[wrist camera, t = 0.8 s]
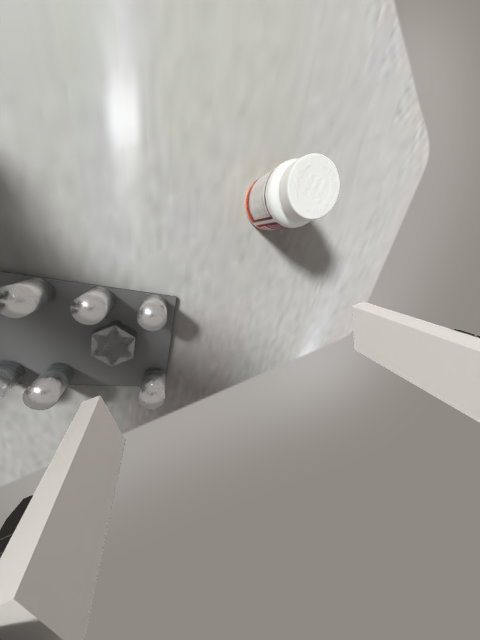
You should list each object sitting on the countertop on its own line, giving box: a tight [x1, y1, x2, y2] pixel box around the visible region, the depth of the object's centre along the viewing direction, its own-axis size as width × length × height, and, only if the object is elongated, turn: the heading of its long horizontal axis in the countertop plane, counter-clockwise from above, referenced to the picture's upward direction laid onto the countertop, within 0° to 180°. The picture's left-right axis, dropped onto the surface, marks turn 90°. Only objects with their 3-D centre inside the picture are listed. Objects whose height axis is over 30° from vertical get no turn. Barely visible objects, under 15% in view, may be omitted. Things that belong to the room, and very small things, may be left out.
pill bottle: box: [245, 153, 340, 230], centre depth 26 cm, size 6×6×11 cm
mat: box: [0, 272, 176, 386], centre depth 29 cm, size 23×13×1 cm, turn 78°
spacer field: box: [0, 278, 167, 410], centre depth 27 cm, size 19×13×5 cm
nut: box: [91, 320, 137, 367], centre depth 29 cm, size 5×5×2 cm
